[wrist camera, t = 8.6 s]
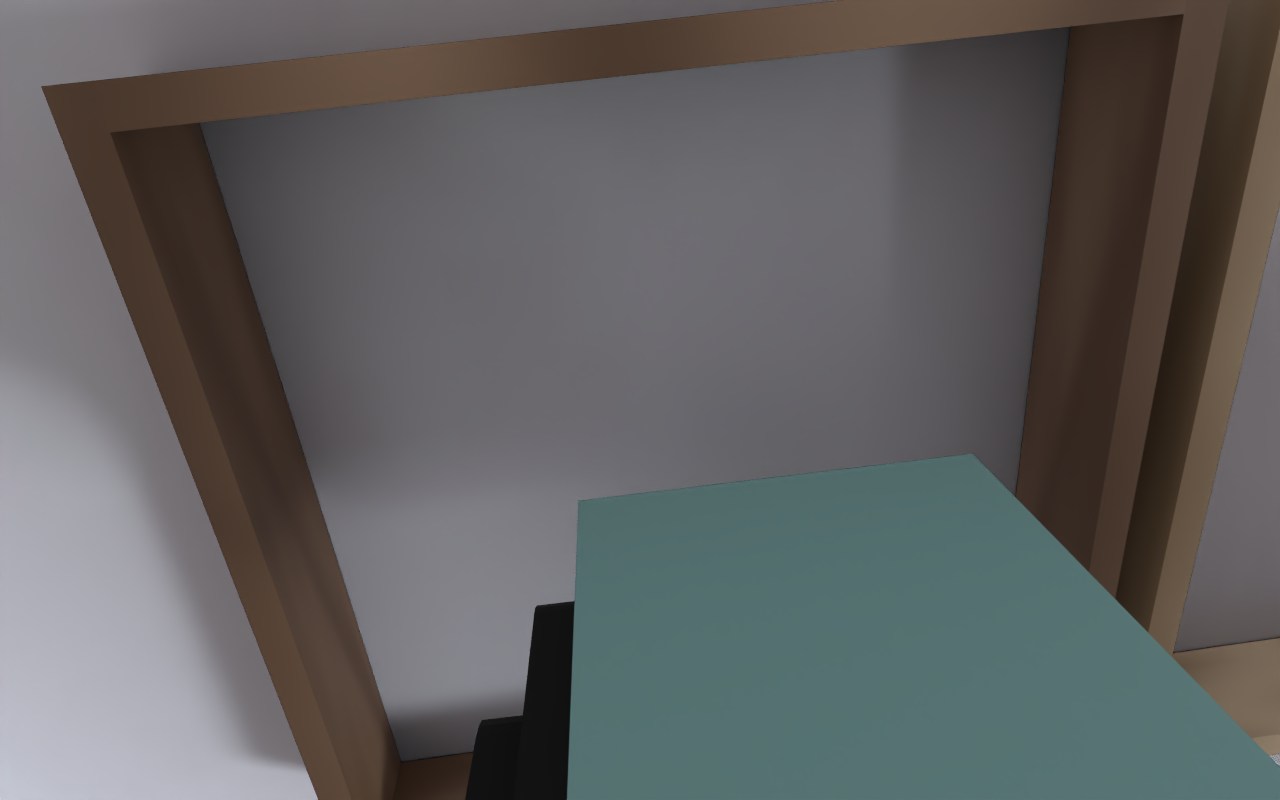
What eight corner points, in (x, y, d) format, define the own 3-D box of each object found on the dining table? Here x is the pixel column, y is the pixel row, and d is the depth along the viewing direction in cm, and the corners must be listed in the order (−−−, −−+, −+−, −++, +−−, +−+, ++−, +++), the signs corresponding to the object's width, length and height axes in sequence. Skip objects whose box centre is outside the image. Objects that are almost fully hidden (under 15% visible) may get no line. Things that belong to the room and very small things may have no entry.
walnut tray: (1112, -23, 12) (1237, -43, 10) (1016, 693, 18) (1079, 783, 16) (144, 81, 12) (41, 86, 9) (381, 784, 18) (353, 890, 16)
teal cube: (972, 453, 10) (1312, 801, 5) (950, 743, 12) (1180, 1180, 7) (577, 500, 10) (562, 892, 5) (624, 783, 12) (642, 1249, 7)
